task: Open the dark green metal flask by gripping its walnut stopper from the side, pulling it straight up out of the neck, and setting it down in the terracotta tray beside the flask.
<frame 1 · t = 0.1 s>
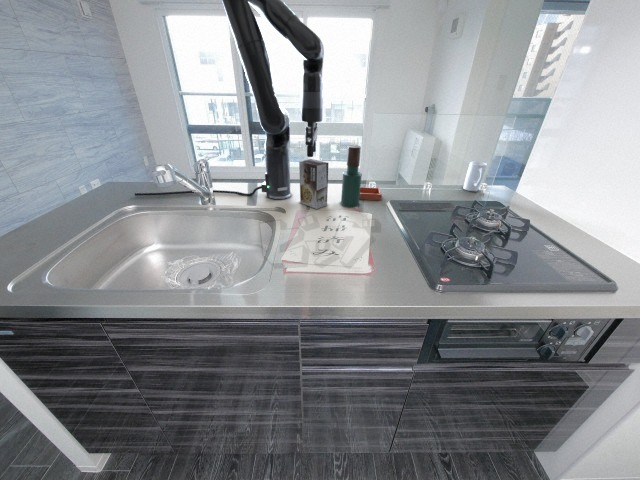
hand: (311, 154, 101), 17 cm above the countertop, tool pointing down, fingers open, 8 cm apart
tray: (368, 196, 112), on the countertop
mug: (471, 190, 122), on the countertop
flask: (349, 204, 104), on the countertop
stopper: (352, 172, 97), point 12 cm above the countertop, touching flask
coffee box: (313, 204, 103), on the countertop
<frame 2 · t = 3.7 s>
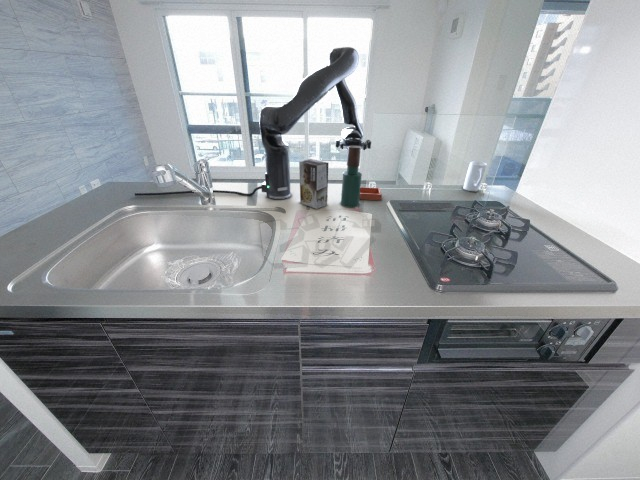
hand: (353, 146, 103), 20 cm above the countertop, tool horizontal, fingers open, 8 cm apart
nothing on the countertop moved.
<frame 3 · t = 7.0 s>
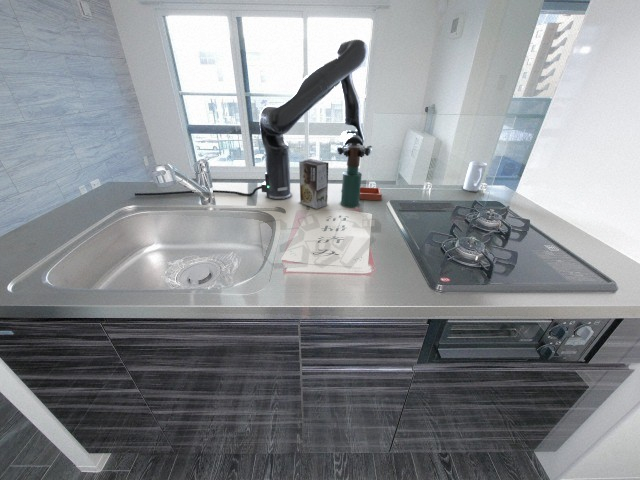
hand: (354, 154, 92), 20 cm above the countertop, tool horizontal, fingers closed on stopper, 4 cm apart
stopper: (352, 172, 97), point 13 cm above the countertop, touching flask, gripper
everything else where it was.
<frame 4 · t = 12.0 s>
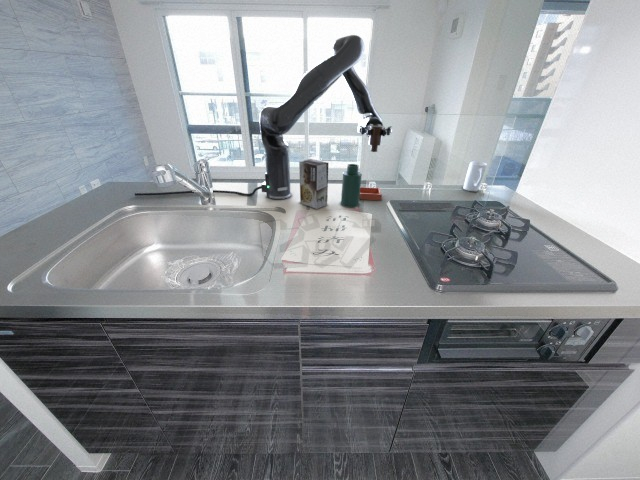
hand: (376, 133, 97), 25 cm above the countertop, tool horizontal, fingers closed on stopper, 4 cm apart
stopper: (373, 151, 103), point 18 cm above the countertop, touching gripper
everything else where it was.
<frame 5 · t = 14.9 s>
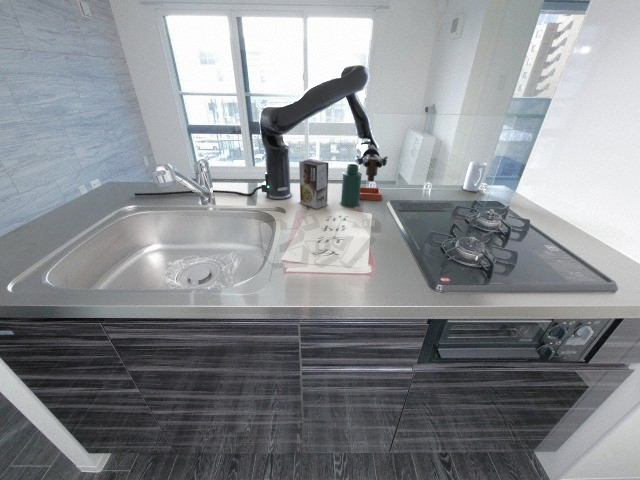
hand: (373, 164, 103), 14 cm above the countertop, tool horizontal, fingers closed on stopper, 4 cm apart
stopper: (370, 180, 108), point 7 cm above the countertop, touching gripper
everything else where it was.
when the fingers open (8 cm above the countertop, at t = 17.1 s): stopper stays where it is, resting on tray.
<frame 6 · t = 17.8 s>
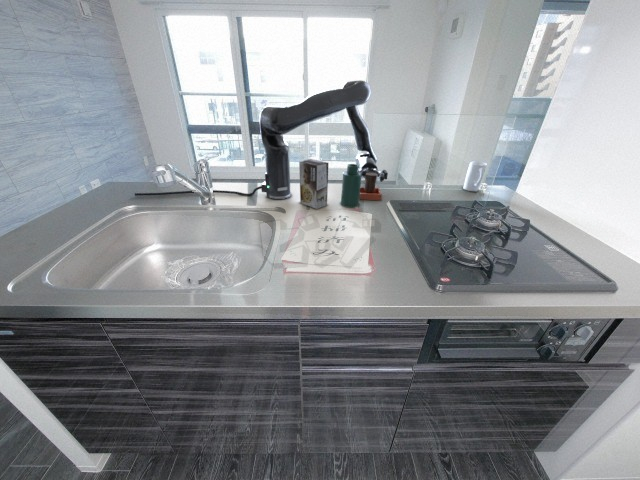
hand: (371, 178, 106), 8 cm above the countertop, tool horizontal, fingers open, 8 cm apart
stopper: (368, 195, 112), resting on tray
everything else where it was.
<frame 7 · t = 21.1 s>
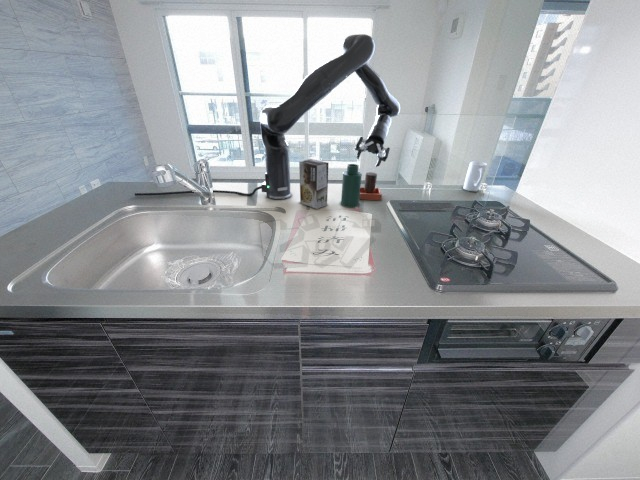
hand: (367, 161, 112), 13 cm above the countertop, tool tilted 55°, fingers open, 8 cm apart
nothing on the countertop moved.
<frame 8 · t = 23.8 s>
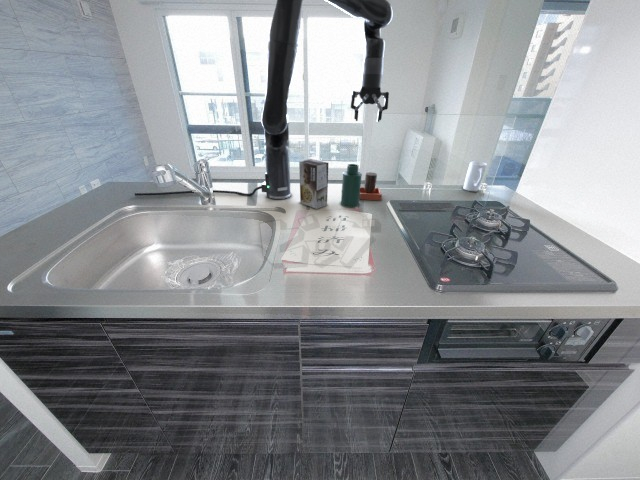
hand: (367, 121, 106), 28 cm above the countertop, tool pointing down, fingers open, 8 cm apart
nothing on the countertop moved.
at the end: stopper inside the target area in the tray (0.1 cm from its centre), point 0.5 cm above the tray's base; stopper moved 17.6 cm from its start; the gripper is holding nothing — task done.
